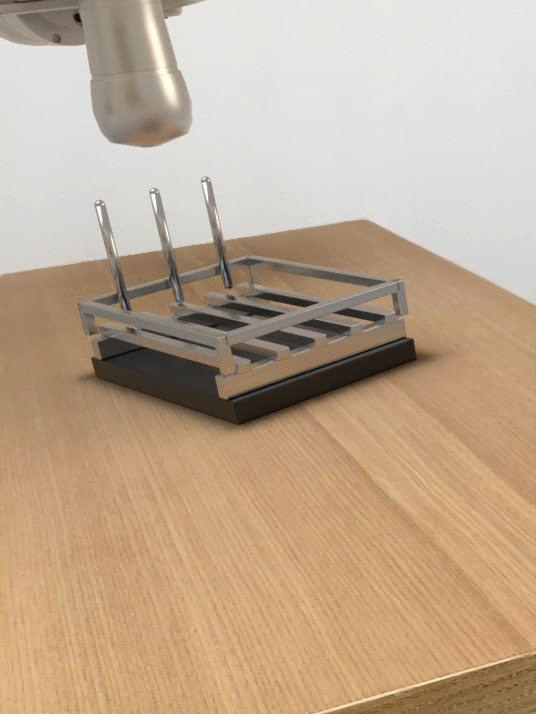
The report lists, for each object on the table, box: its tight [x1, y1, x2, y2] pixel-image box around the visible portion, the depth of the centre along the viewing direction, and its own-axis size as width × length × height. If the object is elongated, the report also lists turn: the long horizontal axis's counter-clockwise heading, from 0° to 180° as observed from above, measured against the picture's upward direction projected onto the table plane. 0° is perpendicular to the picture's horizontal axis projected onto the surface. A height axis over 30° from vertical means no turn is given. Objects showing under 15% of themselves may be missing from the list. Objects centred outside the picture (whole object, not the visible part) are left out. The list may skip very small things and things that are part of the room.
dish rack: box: [76, 176, 417, 425], centre depth 70 cm, size 16×12×10 cm
